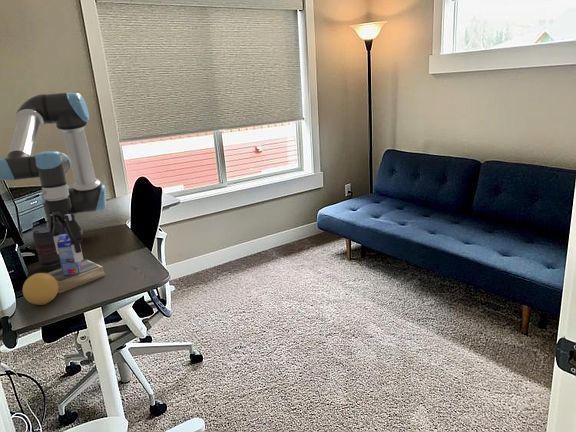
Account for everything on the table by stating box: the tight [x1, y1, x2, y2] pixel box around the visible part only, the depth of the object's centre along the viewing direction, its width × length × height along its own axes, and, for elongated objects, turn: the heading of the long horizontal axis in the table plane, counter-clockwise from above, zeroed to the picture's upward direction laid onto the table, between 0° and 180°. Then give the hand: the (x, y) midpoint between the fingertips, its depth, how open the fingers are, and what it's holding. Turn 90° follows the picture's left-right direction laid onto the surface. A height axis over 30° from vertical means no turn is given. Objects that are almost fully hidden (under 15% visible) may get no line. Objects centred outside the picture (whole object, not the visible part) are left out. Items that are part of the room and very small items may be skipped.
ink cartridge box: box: [57, 234, 82, 276], centre depth 153 cm, size 10×6×14 cm, turn 20°
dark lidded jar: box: [32, 226, 62, 270], centre depth 168 cm, size 8×8×15 cm
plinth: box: [47, 259, 106, 294], centre depth 155 cm, size 12×16×4 cm
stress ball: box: [22, 272, 59, 306], centre depth 139 cm, size 10×10×10 cm
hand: (70, 256), depth 153 cm, fingers open, 13 cm apart
